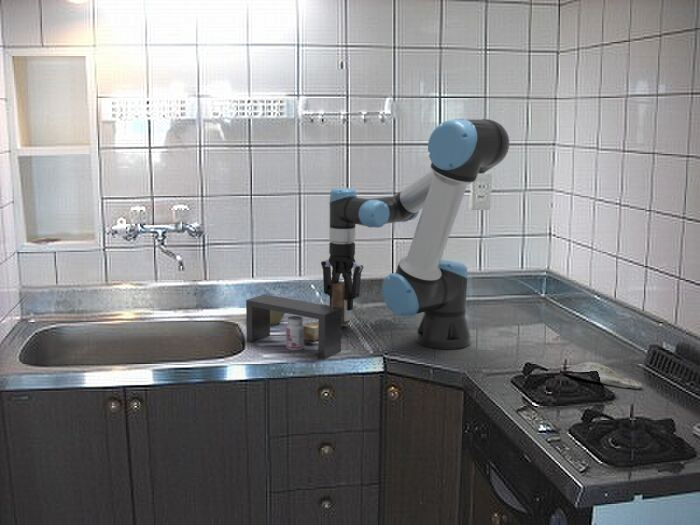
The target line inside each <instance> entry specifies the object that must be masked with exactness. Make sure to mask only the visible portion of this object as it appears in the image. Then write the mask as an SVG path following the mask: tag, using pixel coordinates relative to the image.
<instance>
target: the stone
mask: <svg viewBox="0 0 700 525" xmlns="http://www.w3.org/2000/svg"><path fill="white" fill-rule="evenodd" d="M567 369H568V368H567ZM568 370H569V371H573V372H590V371H597V372H598V374H599V377H600V381H601V383H600V384H604V385H607V386H613V387H618V388H625V389H627V388H630V389H636V390H638V389H641V388H642V387H644V386H643V384H642V383H641V382H639V381H638V380H635V379H632V378H627V377H623V376H621V375H620V374H619V373H617V372H616V371H614V370H613V369H612V368H611V367H608V366H606V365H603V364H600V363H599V362H592V361H586V362H581V363H579V364H576V365H572V366H570V367H569V369H568Z"/></svg>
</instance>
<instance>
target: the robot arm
mask: <svg viewBox="0 0 700 525" xmlns="http://www.w3.org/2000/svg"><path fill="white" fill-rule="evenodd" d="M509 137H510V136H509V134H508V132H507V130H506V129H505V128H504V126H503V125H502V124H500V123H499V122H497V121H495V120H494V119H493V120H492V119H486V118H485V119H484V118H483V119H482V118H481V119H465V118H455V119H451V120H450V119H449V120H445V121H443V122H441V123H439V124H438V125H437V126H436V127H435V128H434V129H433V131H432V133H431V134H430V136H429V138H428V142H427V152H428V153H429V154H428V158H429V160H430V162H431V163H430V171H428V172H426V173H424V174H423V175H422V176H421V177H418V179H416V180H415V181H413V182H412V183H411V184H409V185H408V186H406V187H405V188H403V189H401V191H400V192H399V191H398V193H397V194H395V195H392V196H384V197H374V198H362V197H357V192H356V191H357V190H356V189H354V188H349V187H339V188H337V187H336V188H333V189H332V190H330V195H329V196H330V197H329V202H328V203H329V237H328V239H329V241H330V242H329V245H328V246H329V249H328V253H329V258H328V259H326V260H323V261H322V260H321V262H320V265H321V267H322V276H323V277H322V278H323V279H322V280H323V293H324V294H325V295H327V296H328V297H329V306H332V284H334V283H337V282H340V277H341V276H342V278H343V282H344V285H345V292H346V299H345V300H344V321H345V322H346V321H348V320H350V321H351V316H352V314H351V312H352V310H353V309H354V299H357V298H359V297H360V294H361V293H360V292H361V291H360V290H361V279H362V277H361V276H362V272H363V269H364V266H363V265H362V264H358V263H356V260H355V254H356V243H355V241H356V225H359V226H363V227H364V226H365V227H368V228H371V229H372V228H382V227H383V226H384V225H386V224H392V223H394V224H395V223H405V222H408V221H412V220H415V219H416V218H417V217H418V214H419V213H420V217H419V219H418V222H417V225H416V228H415V231H414V235H413V236H412V237H413V238H412V241H411V244H410V246H409V249H408V253H407V255H406V256H403V257H401V258H400V259H399V261H398V265H397V267H396V270H395V272H393V273H390V274H389V275H387V276H385V278H384V280H383V283H382V287H381V292H382V297H383V300H384V303H385V305H386V306H387V308H388V309H389V310H390V311H391V312H392V313H393V314H395V315H396V316H399V317H407V316H409V317H411V316H415V315H418V314H421V313H423V315H422V317H421V320H420V323H419V325H418V327H417V330H416V342H417V343H418V344H420V345H421V346H425V347H429V348H431V349H432V348H433V349H439V350H440V349H441V350H455V349H463V348H465V347H468V346H469V345H471V337H472V336H471V331H470V328H469V325H468V322H467V321H468V320H467V317H466V312H467V311H466V309H467V294H468V293H467V291H468V280H469V277H468V266H466V265H465V264H464V263H462V262H457V261H452V260H446V259H442V258H443V255H444V252H445V249H446V247H447V243H448V240H449V237H450V234H451V233H452V229H453V226H454V223H455V220H456V218H457V215H458V213H459V209H460V206H461V204H462V201H463V198H464V195H465V192H466V190H467V187H468V185H471V184H472V183H475V182H476V180H477V179H478V178H477V177H478V175H483V174H485V173H487V172H488V171H489V170H491V169H493V168H495V167H496V166H497V165H499V164H500V163H502V161H503V160H504V159H505V158H506V157H507V154H508V152H509V149H510V138H509ZM420 211H421V212H420ZM331 268H332V269H331ZM352 271H353V272H352Z"/></svg>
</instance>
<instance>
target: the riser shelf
mask: <svg viewBox="0 0 700 525" xmlns="http://www.w3.org/2000/svg"><path fill="white" fill-rule="evenodd" d="M277 296H278V295H271V294H265V293H263V294H260V295H258V296H254V297H251V298H248V299H246V300H245V303H246V304H245V310H246V311H245V312H246V314H245V315H246V319H245V320H246V342H247V343H251V344H253V343H255V342H258V341H261V340H264V339H266V338H269V337H270V336H271V325H270V310H273V311H279V312H284V313H285V314H289V315H293V316H300V317H305V318H311V319H315V320H318V321H319V322H318V339H317V340H318V342H317V344H318V345H317V346H318V347H317V352H318V353H317V356H318V357H317V358H318V359H321V360H326V359H328V358H330V357H333V356H334V355H336V354H339V353H340V352H342V326H341V321H342V308H338V307H332V306H330V305H326V304H320V303H315V302H310V301H304V300H299V299H293V298H288V297H287V298H286V297H284V298H283V296H279V297H277Z"/></svg>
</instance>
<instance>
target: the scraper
mask: <svg viewBox="0 0 700 525" xmlns="http://www.w3.org/2000/svg"><path fill="white" fill-rule="evenodd" d="M345 299H346V292H345V285H344V281H342V280H339V282H337V283H334V284H332V307H338V308H342V321H341V327H342V326H343V325H347V324H348V323H350V322H351V320H348V321H346V322H345V321H344V300H345ZM318 322H319V320H316V321H315V322H311V323H310V324H306V323H302V324H303V326H304V340H310V341H314V342H315V341H317V340H318Z"/></svg>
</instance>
